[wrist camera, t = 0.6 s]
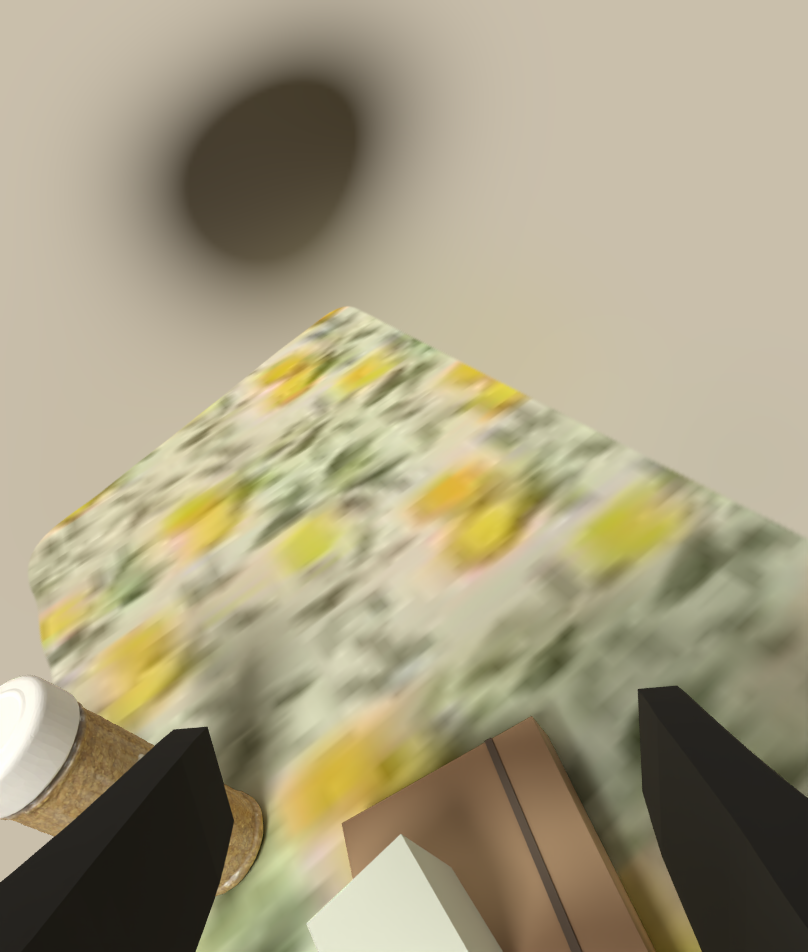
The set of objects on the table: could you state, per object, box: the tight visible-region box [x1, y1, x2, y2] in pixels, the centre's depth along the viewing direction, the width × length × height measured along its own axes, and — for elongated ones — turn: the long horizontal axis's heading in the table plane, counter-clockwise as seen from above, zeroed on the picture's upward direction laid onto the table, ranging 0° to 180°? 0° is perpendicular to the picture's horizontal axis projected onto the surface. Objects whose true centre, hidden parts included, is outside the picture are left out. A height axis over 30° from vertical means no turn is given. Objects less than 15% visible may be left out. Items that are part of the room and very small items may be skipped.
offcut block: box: [307, 834, 503, 952], centre depth 21 cm, size 4×4×4 cm
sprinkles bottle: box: [0, 675, 263, 896], centre depth 27 cm, size 5×5×13 cm
